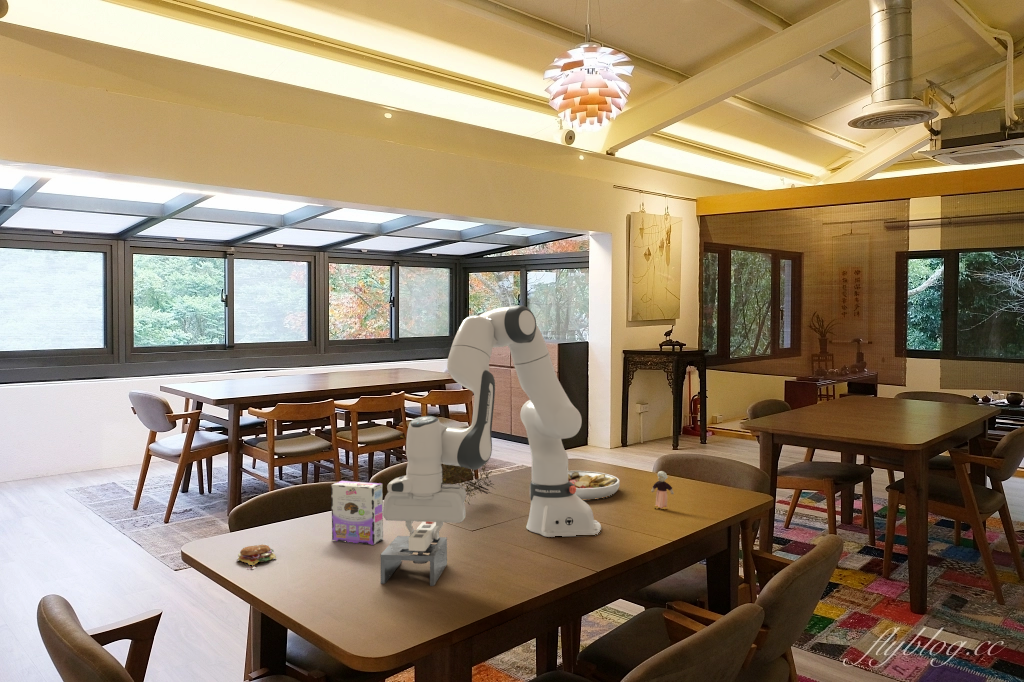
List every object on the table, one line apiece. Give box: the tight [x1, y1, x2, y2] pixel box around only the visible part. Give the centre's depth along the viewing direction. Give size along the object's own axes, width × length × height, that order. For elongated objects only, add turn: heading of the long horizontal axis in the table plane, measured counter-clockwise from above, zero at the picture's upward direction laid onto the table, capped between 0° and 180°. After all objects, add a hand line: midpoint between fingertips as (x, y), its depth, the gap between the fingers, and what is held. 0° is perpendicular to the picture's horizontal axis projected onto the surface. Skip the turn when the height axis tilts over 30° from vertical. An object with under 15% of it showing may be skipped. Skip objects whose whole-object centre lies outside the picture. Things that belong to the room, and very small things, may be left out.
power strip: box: [409, 522, 438, 565], centre depth 175 cm, size 4×15×7 cm, turn 174°
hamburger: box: [236, 543, 277, 569], centre depth 184 cm, size 14×14×6 cm
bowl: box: [568, 470, 621, 499], centre depth 260 cm, size 30×30×8 cm
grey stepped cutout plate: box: [380, 535, 448, 587], centre depth 176 cm, size 13×15×7 cm
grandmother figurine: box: [650, 470, 675, 509], centre depth 236 cm, size 8×4×13 cm, turn 68°
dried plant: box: [397, 428, 496, 505], centre depth 228 cm, size 30×31×45 cm
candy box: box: [330, 480, 384, 546], centre depth 202 cm, size 14×6×16 cm, turn 71°
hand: (424, 538), depth 175 cm, fingers closed on power strip, 4 cm apart
